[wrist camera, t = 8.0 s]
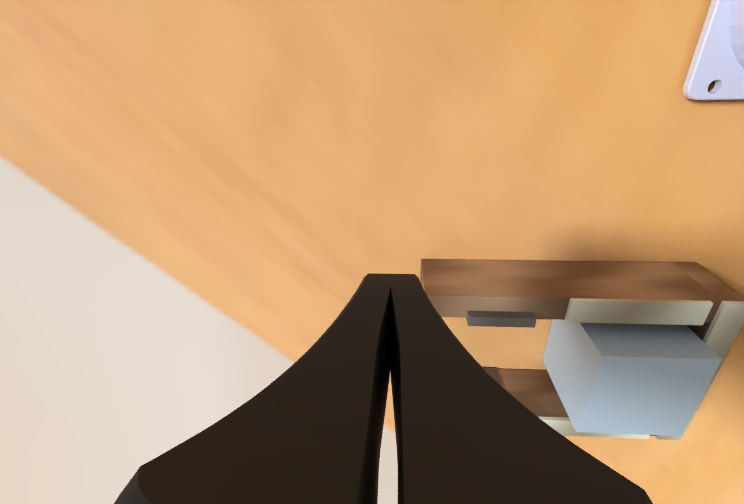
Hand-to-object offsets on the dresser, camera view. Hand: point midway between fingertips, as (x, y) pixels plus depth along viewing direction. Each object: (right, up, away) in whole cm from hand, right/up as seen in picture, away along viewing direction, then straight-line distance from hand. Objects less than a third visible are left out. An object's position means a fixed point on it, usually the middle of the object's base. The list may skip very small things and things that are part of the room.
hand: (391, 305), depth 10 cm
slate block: (+12, -3, +12) cm, 18 cm away
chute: (+9, -3, +12) cm, 16 cm away
